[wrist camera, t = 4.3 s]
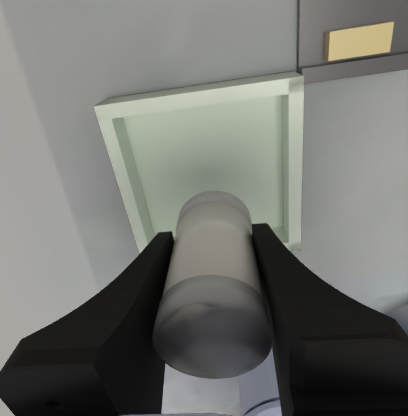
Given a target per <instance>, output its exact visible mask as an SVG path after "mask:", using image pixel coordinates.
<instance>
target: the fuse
mask: <svg viewBox="0 0 408 416" xmlns="http://www.w3.org/2000/svg"><path fill="white" fill-rule="evenodd" d="M152 342H153V346H154V349H155V351H156V353H157V354H158V356H159V357H160V358H161V359H162V360H163V361H164V362H165V363H166V364H168V365H169V366H170V367H172V368H174V369H176V370H178V371H180V372H182V373H185V374H188V375H191V376H195V377H200V378H209V379H220V378H230V377H234V376H238V375H242V374H244V373H247V372H249V371H251V370H253V369H255V368H256V367H258V366H259V365H260V364H261V363H263V362H264V360H265V359H266V358H267V357H268V355H269V353H270V351H271V348H272V334H271V329H270V323H269V317H268V312H267V307H266V304H265V302H264V298H263V292H262V286H261V280H260V274H259V268H258V263H257V257H256V252H255V247H254V241H253V235H252V221H251V216H250V212H249V210H248V208H247V207H246V205H245V204H244V203H243V202H242V201H241V200H240V199H239V198H237V197H236V196H234V195H232V194H230V193H227V192H223V191H206V192H202V193H199V194H197V195H195V196H193V197H192V198H190V199H189V200H188V201H187V202H186V203H185V204H184V205H183V207H182V208H181V210H180V213H179V217H178V222H177V226H176V236H175V240H174V245H173V250H172V254H171V259H170V264H169V268H168V273H167V277H166V282H165V287H164V291H163V296H162V298H161V300H160V303H159V307H158V311H157V316H156V320H155V325H154V329H153V334H152Z"/></svg>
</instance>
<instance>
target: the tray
mask: <svg viewBox="0 0 408 416" xmlns="http://www.w3.org/2000/svg"><path fill="white" fill-rule="evenodd" d="M303 106H304V76H303V75H301V74H299V73H297V72H295V71H291V72H284V73H277V74H270V75H263V76H256V77H249V78H243V79H236V80H229V81H222V82H215V83H208V84H201V85H195V86H188V87H181V88H174V89H167V90H160V91H154V92H147V93H140V94H133V95H126V96H119V97H112V98H107V99H106V100H104V101H102V102H100V103H99V104H97V105H95V106H94V109H95V112H96V115H97V118H98V122H99V125H100V128H101V131H102V134H103V138H104V141H105V144H106V147H107V150H108V154H109V157H110V160H111V163H112V166H113V170H114V173H115V176H116V179H117V182H118V186H119V189H120V192H121V195H122V198H123V202H124V205H125V208H126V211H127V214H128V218H129V221H130V224H131V227H132V230H133V234H134V237H135V240H136V243H137V247H138V250H139V253H141V252H142V251H143V250H144V248H145V247H146V246H147V245H148V244H149V243H150V241H151V240H152V239H153V238H154V237H155V236H156V234H157V233H158V232H168V231H172V233H173V238H174V240H175V236H176V226H177V222H178V217H179V213H180V210H181V208H182V207H183V205H184V204H185V203H186V202H187V201H188V200H189V199H190V198H192V197H193V196H195V195H197V194H199V193H202V192H206V191H223V192H227V193H230V194H232V195H234V196H236V197H237V198H239V199H240V200H241V201H242V202H243V203H244V204H245V205H246V207H247V208H248V210H249V212H250V216H251V221H252V224H259V223H267V224H268V225H269V226H270V227H271V229H272V230H273V232H274V233H275V234H276V236H277V237H278V238H279V239H280V241H281V242H282V243H283V244H284V245H285V246H286V247H287V248H288V250H289V251H290V252H294V251H300V243H301V197H302V152H303Z"/></svg>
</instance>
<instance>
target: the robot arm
mask: <svg viewBox="0 0 408 416" xmlns="http://www.w3.org/2000/svg"><path fill="white" fill-rule="evenodd" d="M252 235H253V241H254V247H255V252H256V257H257V263H258V268H259V274H260V280H261V286H262V292H263V298H264V302H265V304H266V307H267V312H268V317H269V323H270V329H271V334H272V348H271V351H270V353H269V355H268V357H267V358H266V359H265V360H264V362H263V363H261V364H260V365H259V366H258V367H256V368H255V369H253V370H251V371H249V372H247V373H244V374H242V375H239V390H240V404H241V405H240V406H241V416H408V336H407V334H406V333H405V331H404V330H403V329H402V328H401V326H400V325H399V324H398V323H397V321H396V320H395V319H393V318H391V317H389V316H387V315H385V314H382V313H380V312H378V311H376V310H374V309H371V308H369V307H367V306H365V305H363V304H361V303H359V302H358V301H356V300H354V299H352V298H350V297H348V296H347V295H345V294H343V293H342V292H340V291H338V290H337V289H335V288H334V287H332V286H331V285H329V284H328V283H326V282H325V281H323V280H322V279H321V278H319V277H318V276H317V275H315V274H314V273H313V272H312V271H310V270H309V269H308V268H307V267H306V266H305V265H304V264H302V263H301V262H300V261H299V260H298V259H297V258H296V257H295V256H294V255H293V254H292V253H291V252H290V251H289V250H288V248H287V247H286V246H285V245H284V244H283V243H282V242H281V241H280V239H279V238H278V237H277V236H276V234H275V233H274V232H273V230H272V229H271V227H270V226H269V225H268V224H267V223H259V224H252ZM173 245H174V238H173V233H172V231H168V232H158V233H157V234H156V236H155V237H154V238H153V239H152V240H151V241H150V243H149V244H148V245H147V246H146V247H145V248H144V250H143V251H142V252H141V253H140V254H139V255H138V256H137V258H136V259H135V260H134V261H133V262H132V263H131V264H130V265H129V266H128V267H127V268H126V269H125V270H124V271H123V272H122V273H121V274H120V275H119V276H118V277H117V278H116V279H115V280H113V281H112V282H111V283H110V284H109V285H108V286H106V287H105V288H104V289H103V290H102V291H100V292H99V293H98V294H96V295H95V296H94V297H92V298H91V299H90V300H88V301H87V302H85V303H84V304H82V305H81V306H80V307H78V308H77V309H75V310H73V311H72V312H70V313H69V314H67V315H66V316H64V317H62V318H60V319H59V320H57V321H56V322H54V323H52V324H50V325H48V326H46V327H44V328H42V329H41V330H39V331H37V332H35V333H33V334H31V335H29V336H27V337H25V338H23V339H22V340H21V341H20V342H19V344H18V345H17V347H16V348H15V350H14V351H13V353H12V354H11V356H10V357H9V359H8V360H7V362H6V364H5V365H4V367H3V368H2V370H1V371H0V398H1V399H2V401H3V402H4V403H5V404H6V405H7V407H8V408H9V409H10V410H11V411H12V413H13V414H14V415H15V416H232V415H226V414H217V413H187V414H161V410H162V396H163V384H164V372H165V362H164V361H163V360H162V359H161V358H160V357H159V356H158V354H157V353H156V351H155V349H154V346H153V342H152V334H153V329H154V325H155V320H156V316H157V311H158V307H159V303H160V300H161V298H162V296H163V291H164V287H165V282H166V277H167V273H168V268H169V264H170V259H171V254H172V250H173Z"/></svg>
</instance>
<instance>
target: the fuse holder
mask: <svg viewBox="0 0 408 416" xmlns="http://www.w3.org/2000/svg"><path fill="white" fill-rule="evenodd" d="M406 69H408V0H298V48H297V73H299V74H301V75H303V76H304V84H306V83H313V82H321V81H328V80H335V79H342V78H349V77H356V76H363V75H370V74H377V73H384V72H391V71H399V70H406Z"/></svg>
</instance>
